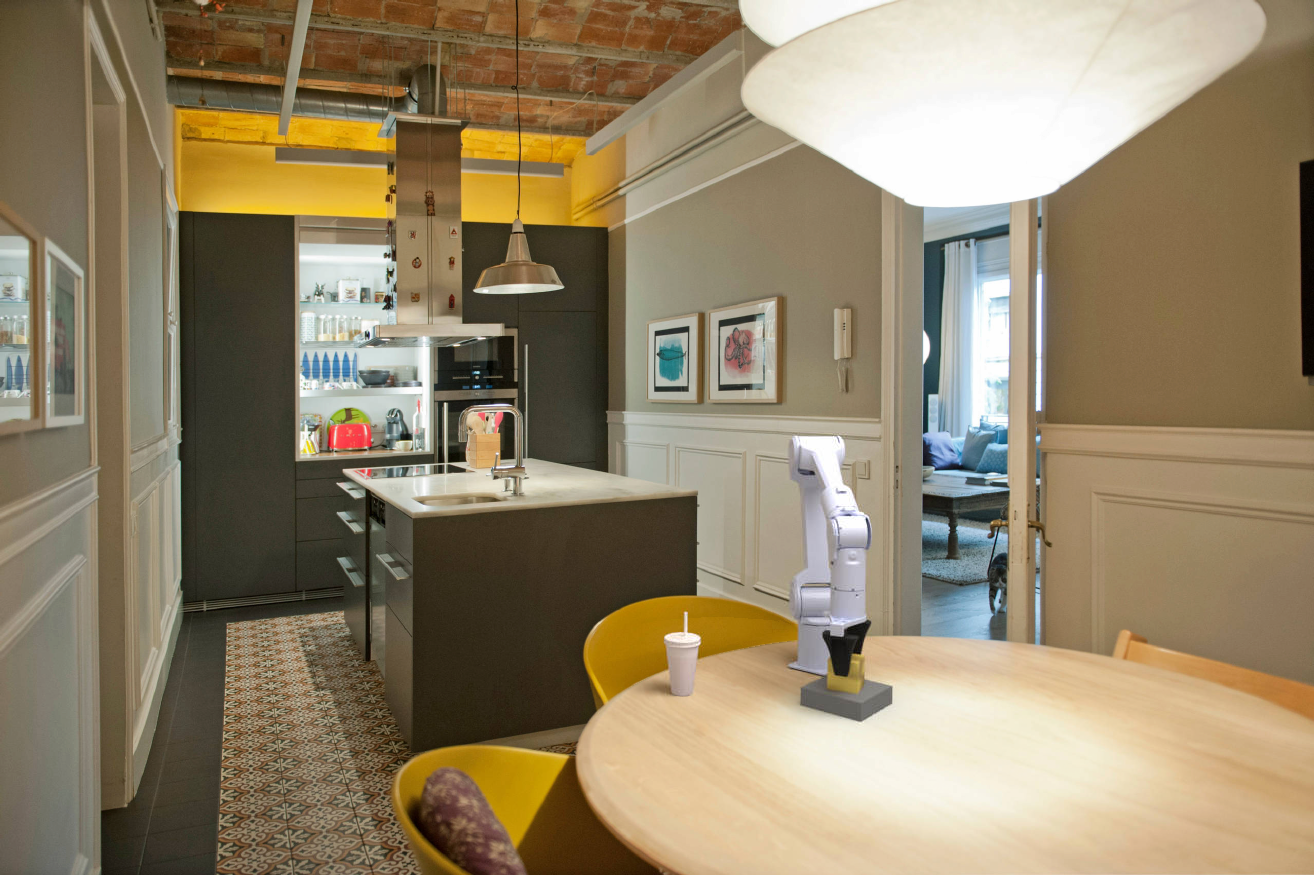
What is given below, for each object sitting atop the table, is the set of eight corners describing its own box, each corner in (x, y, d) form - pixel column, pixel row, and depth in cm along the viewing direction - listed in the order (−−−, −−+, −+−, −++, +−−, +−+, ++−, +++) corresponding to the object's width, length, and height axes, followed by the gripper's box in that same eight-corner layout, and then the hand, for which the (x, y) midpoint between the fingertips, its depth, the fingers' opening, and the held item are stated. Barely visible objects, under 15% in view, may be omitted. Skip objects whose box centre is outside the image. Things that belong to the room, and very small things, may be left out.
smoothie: (701, 699, 141) (701, 617, 141) (663, 698, 142) (663, 616, 141) (700, 686, 148) (700, 608, 147) (663, 686, 148) (664, 607, 147)
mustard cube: (834, 680, 142) (835, 651, 142) (864, 684, 140) (864, 655, 140) (827, 689, 138) (827, 659, 138) (857, 693, 136) (858, 663, 135)
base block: (833, 691, 147) (833, 672, 147) (892, 706, 140) (892, 686, 140) (800, 708, 139) (800, 687, 139) (860, 725, 132) (861, 703, 131)
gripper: (835, 577, 147) (834, 654, 147) (812, 594, 134) (811, 678, 134) (875, 581, 144) (874, 659, 144) (856, 598, 131) (855, 684, 131)
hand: (846, 669), depth 139 cm, fingers open, 7 cm apart
